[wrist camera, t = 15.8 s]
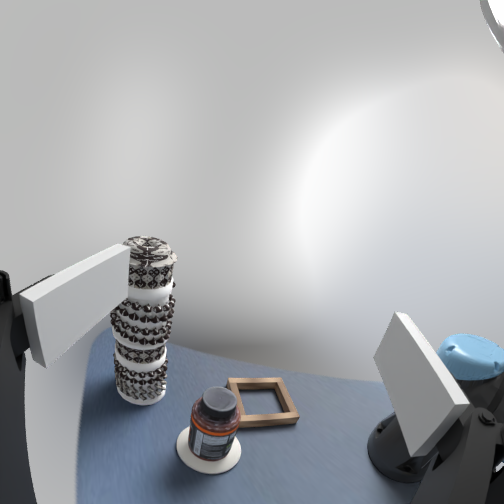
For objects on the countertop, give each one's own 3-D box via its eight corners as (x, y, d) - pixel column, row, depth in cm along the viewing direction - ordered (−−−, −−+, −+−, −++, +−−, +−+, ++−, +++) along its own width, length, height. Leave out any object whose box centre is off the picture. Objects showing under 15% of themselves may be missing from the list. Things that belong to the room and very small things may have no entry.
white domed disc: (233, 425, 37) (234, 423, 37) (246, 472, 29) (247, 470, 29) (174, 424, 35) (174, 422, 35) (179, 473, 26) (179, 472, 26)
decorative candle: (115, 366, 42) (115, 228, 35) (165, 370, 46) (180, 235, 39) (112, 404, 34) (104, 250, 27) (170, 407, 38) (186, 259, 31)
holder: (278, 384, 49) (281, 377, 48) (296, 423, 40) (299, 416, 39) (226, 384, 46) (228, 377, 46) (237, 427, 37) (239, 421, 36)
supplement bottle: (192, 426, 35) (200, 374, 31) (232, 436, 35) (248, 386, 31) (182, 456, 29) (188, 408, 26) (226, 467, 29) (243, 422, 26)
